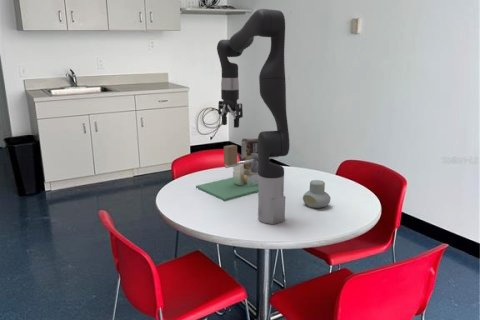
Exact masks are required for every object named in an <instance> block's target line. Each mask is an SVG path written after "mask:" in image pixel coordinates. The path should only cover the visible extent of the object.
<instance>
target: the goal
mask: <svg viewBox="0 0 480 320" xmlns="http://www.w3.org/2000/svg"><path fill="white" fill-rule="evenodd" d="M244 175H247V187H252V186H256V185H258V184H259V174H257V173H254V172H252V171H249V170H246V169H244Z"/></svg>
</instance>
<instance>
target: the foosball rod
mask: <svg viewBox="0 0 480 320" xmlns="http://www.w3.org/2000/svg"><path fill="white" fill-rule="evenodd" d="M274 158H275V159H276V158H277V157H269V160H271V159H274ZM253 162H257V158H255V159H250V160H246V161H242V160H241V161H238V146H237V145H235V144H230V145H223V164H224V168H225V169H229V168H232V169H233V171H232V177H233V183H235V184H237V185H240V186H241V185H244V164H248V163H253Z"/></svg>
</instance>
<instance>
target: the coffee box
mask: <svg viewBox="0 0 480 320" xmlns="http://www.w3.org/2000/svg"><path fill="white" fill-rule="evenodd" d="M240 141H241V145H240V146H241V161H246V160H250V159H251V153H257V154H258V138H242V139H241V140H240ZM244 169H246V170H249V171H251V163H248V164H244Z"/></svg>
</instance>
